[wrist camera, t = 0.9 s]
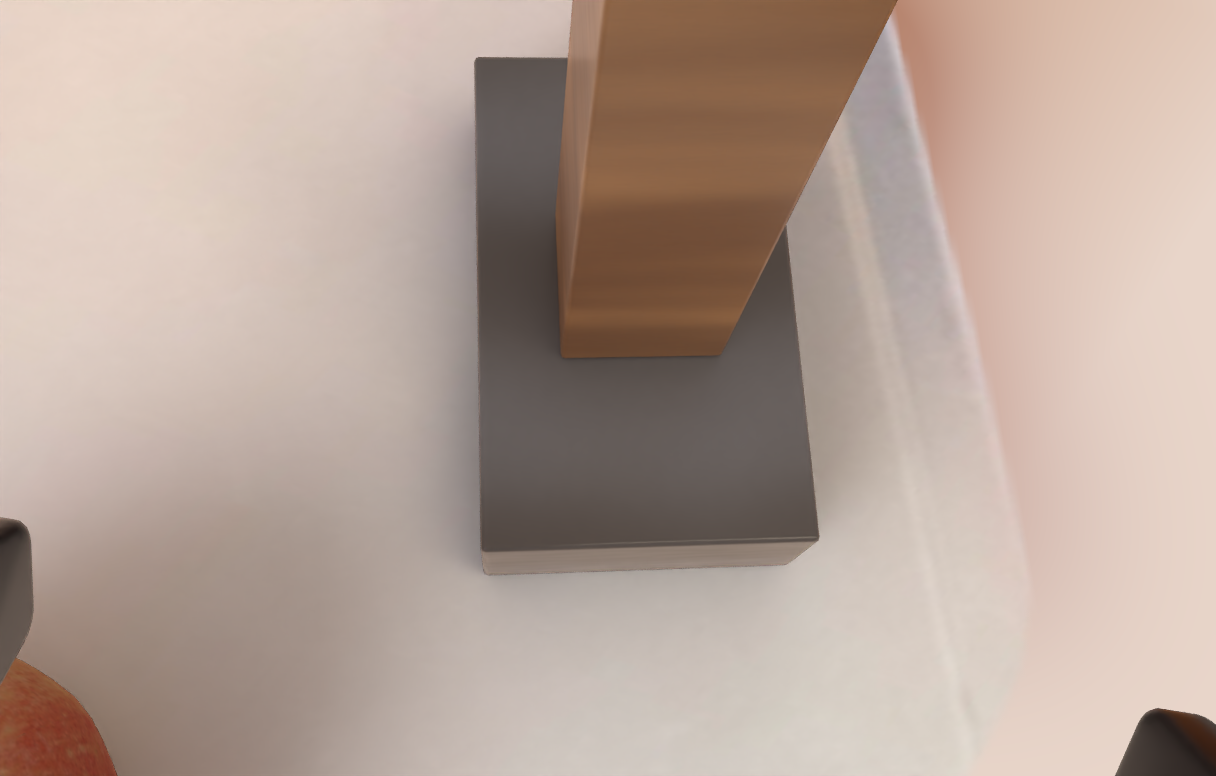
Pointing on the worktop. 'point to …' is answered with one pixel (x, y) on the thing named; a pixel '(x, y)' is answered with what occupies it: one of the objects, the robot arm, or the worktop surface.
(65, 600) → the worktop surface
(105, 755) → the apple
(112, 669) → the worktop surface
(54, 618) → the worktop surface
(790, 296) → the duster
